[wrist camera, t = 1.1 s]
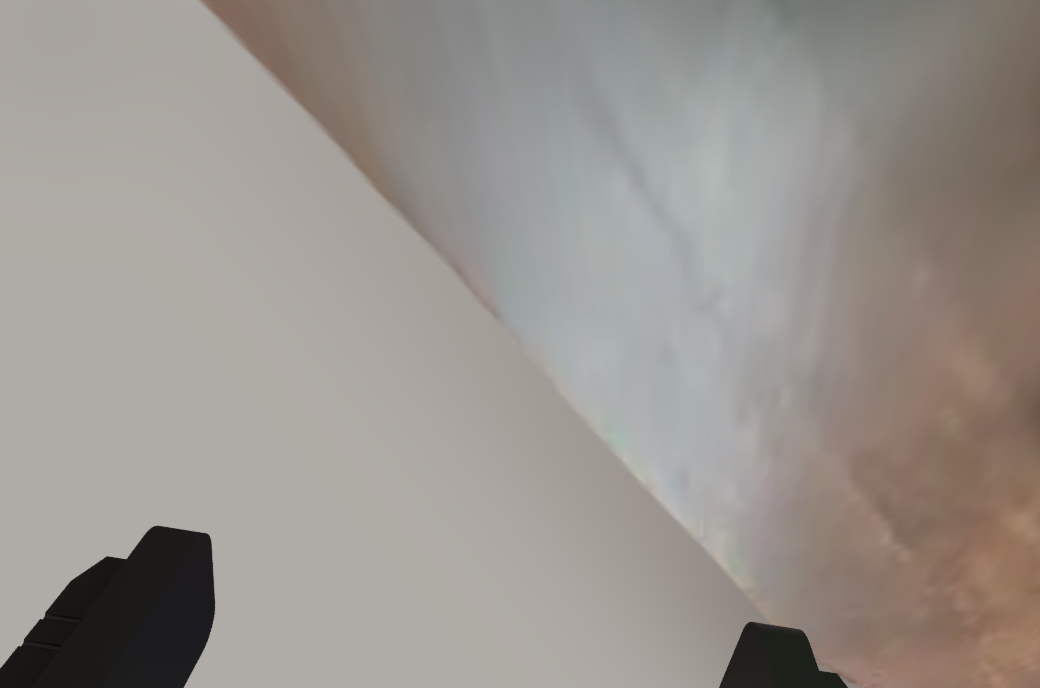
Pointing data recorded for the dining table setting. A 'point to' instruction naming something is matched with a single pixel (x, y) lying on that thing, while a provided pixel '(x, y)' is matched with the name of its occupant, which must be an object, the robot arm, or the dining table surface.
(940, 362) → the dining table surface
